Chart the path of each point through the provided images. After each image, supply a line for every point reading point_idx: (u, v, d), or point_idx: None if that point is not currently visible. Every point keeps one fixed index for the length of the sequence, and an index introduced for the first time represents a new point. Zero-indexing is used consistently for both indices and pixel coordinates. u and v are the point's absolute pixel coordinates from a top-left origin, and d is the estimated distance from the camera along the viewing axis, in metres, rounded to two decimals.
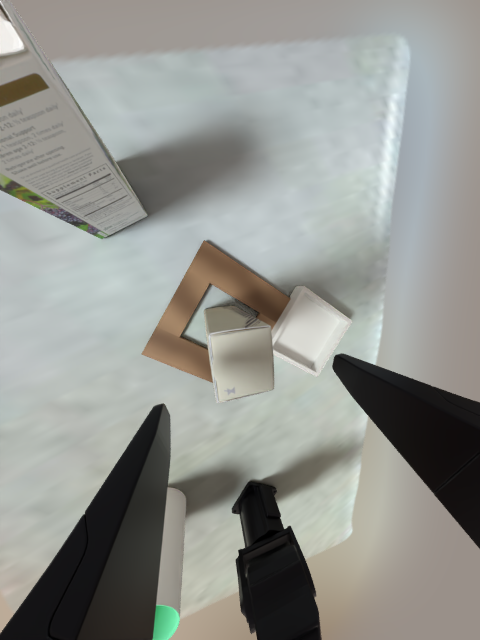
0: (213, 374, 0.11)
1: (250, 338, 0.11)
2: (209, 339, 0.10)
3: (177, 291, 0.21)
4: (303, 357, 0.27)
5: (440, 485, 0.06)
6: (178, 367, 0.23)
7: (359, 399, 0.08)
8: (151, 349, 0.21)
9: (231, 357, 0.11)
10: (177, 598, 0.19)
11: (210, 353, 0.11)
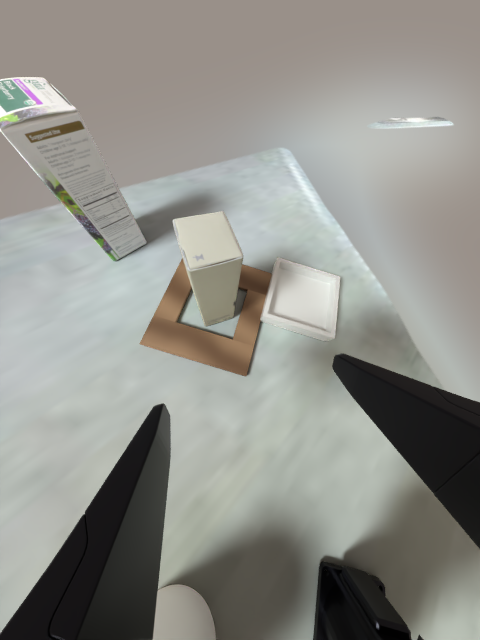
0: (180, 245, 0.12)
1: (207, 218, 0.13)
2: (173, 222, 0.13)
3: (170, 284, 0.24)
4: (310, 324, 0.25)
5: (441, 485, 0.06)
6: (177, 353, 0.21)
7: (359, 399, 0.08)
8: (149, 337, 0.22)
9: (193, 231, 0.13)
10: None
11: (176, 232, 0.13)
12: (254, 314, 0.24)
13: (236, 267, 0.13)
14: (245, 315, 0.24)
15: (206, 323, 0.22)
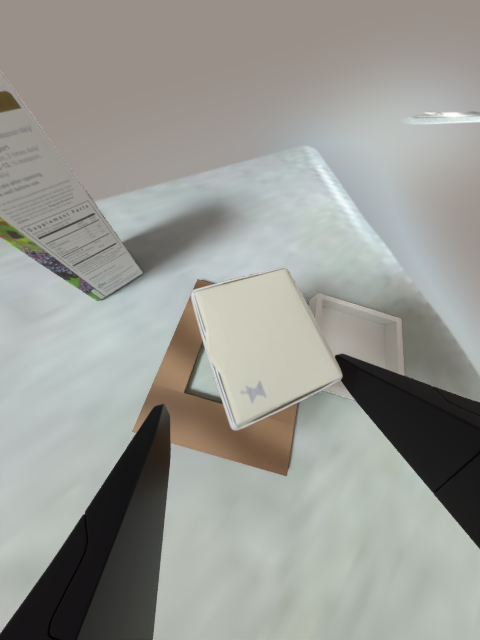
0: (211, 359, 0.06)
1: (260, 286, 0.07)
2: (193, 298, 0.06)
3: (175, 333, 0.18)
4: None
5: (440, 485, 0.06)
6: (186, 444, 0.15)
7: (359, 399, 0.08)
8: None
9: (236, 321, 0.06)
10: None
11: (199, 322, 0.06)
12: None
13: None
14: None
15: None
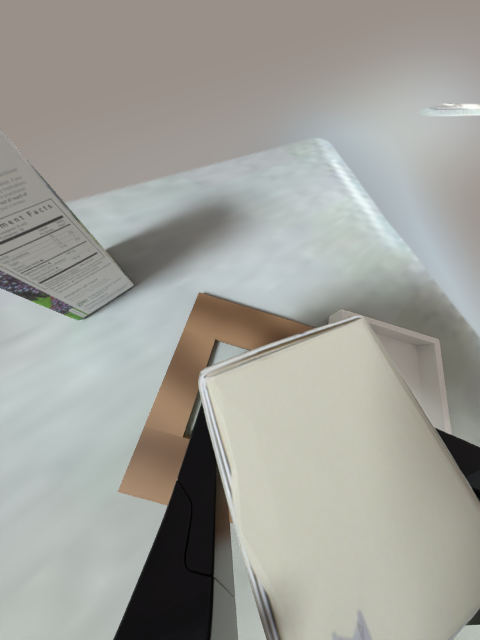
0: (247, 553, 0.03)
1: (328, 359, 0.04)
2: (203, 391, 0.03)
3: (173, 361, 0.15)
4: None
5: None
6: None
7: None
8: (136, 475, 0.12)
9: (294, 445, 0.03)
10: None
11: (216, 446, 0.03)
12: None
13: None
14: None
15: None
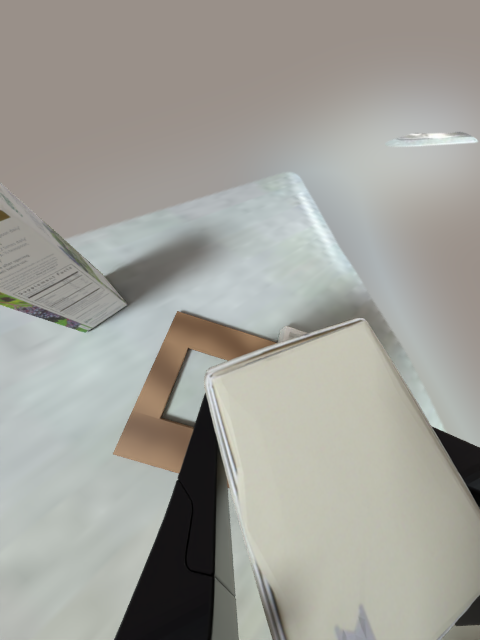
0: (252, 550, 0.03)
1: (331, 360, 0.04)
2: (210, 390, 0.03)
3: (154, 364, 0.20)
4: None
5: None
6: (160, 465, 0.17)
7: None
8: (125, 444, 0.17)
9: (298, 444, 0.03)
10: None
11: (222, 444, 0.03)
12: None
13: None
14: None
15: None
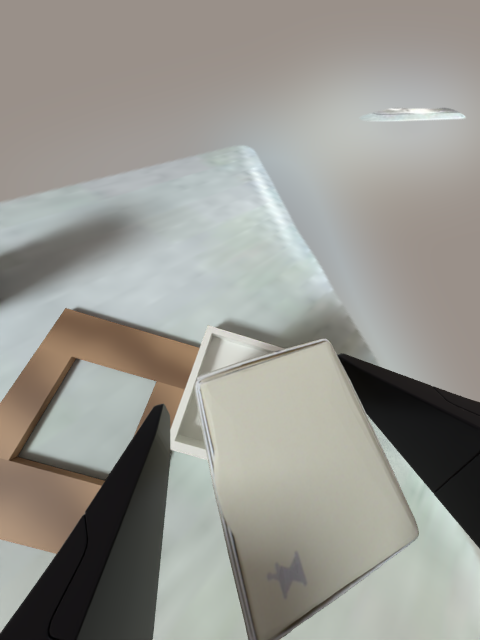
0: (221, 508, 0.04)
1: (294, 373, 0.05)
2: (198, 392, 0.04)
3: (18, 380, 0.14)
4: None
5: (441, 485, 0.06)
6: None
7: (359, 399, 0.08)
8: None
9: (261, 437, 0.04)
10: None
11: (205, 433, 0.04)
12: None
13: None
14: None
15: None
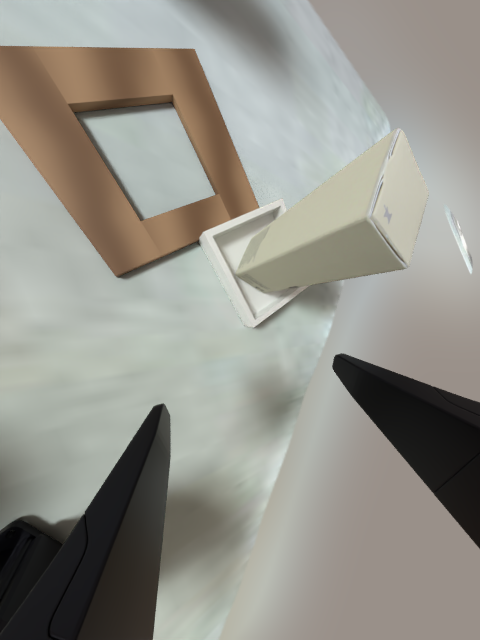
0: (384, 172, 0.07)
1: (419, 180, 0.08)
2: (397, 131, 0.07)
3: (115, 50, 0.13)
4: (245, 297, 0.19)
5: (441, 485, 0.06)
6: (22, 143, 0.11)
7: (359, 399, 0.08)
8: None
9: (404, 175, 0.08)
10: None
11: (390, 147, 0.07)
12: (198, 225, 0.16)
13: (380, 269, 0.09)
14: (186, 215, 0.16)
15: (241, 274, 0.17)
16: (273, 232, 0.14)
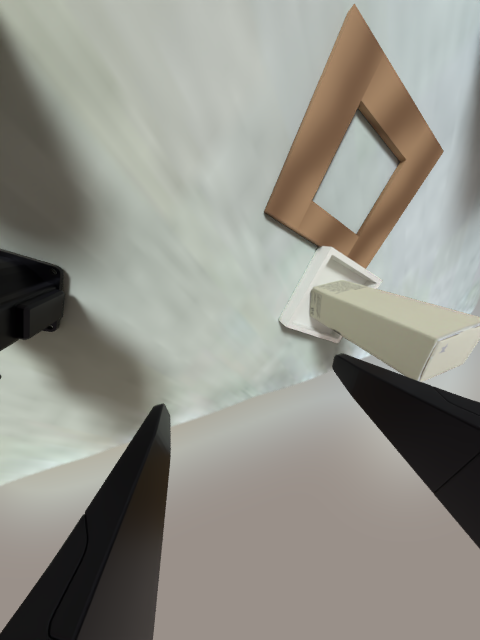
0: (464, 330, 0.11)
1: (467, 353, 0.13)
2: None
3: (412, 104, 0.16)
4: None
5: (440, 485, 0.06)
6: (319, 92, 0.14)
7: (359, 399, 0.08)
8: (356, 32, 0.13)
9: (467, 342, 0.12)
10: None
11: (477, 324, 0.11)
12: (330, 239, 0.20)
13: (403, 370, 0.13)
14: (332, 226, 0.19)
15: (316, 291, 0.21)
16: (366, 292, 0.18)
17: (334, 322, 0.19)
